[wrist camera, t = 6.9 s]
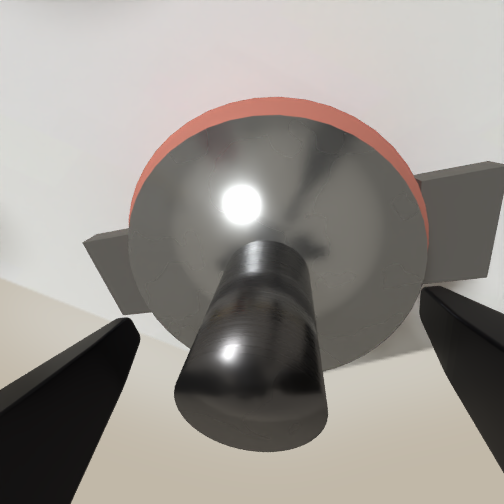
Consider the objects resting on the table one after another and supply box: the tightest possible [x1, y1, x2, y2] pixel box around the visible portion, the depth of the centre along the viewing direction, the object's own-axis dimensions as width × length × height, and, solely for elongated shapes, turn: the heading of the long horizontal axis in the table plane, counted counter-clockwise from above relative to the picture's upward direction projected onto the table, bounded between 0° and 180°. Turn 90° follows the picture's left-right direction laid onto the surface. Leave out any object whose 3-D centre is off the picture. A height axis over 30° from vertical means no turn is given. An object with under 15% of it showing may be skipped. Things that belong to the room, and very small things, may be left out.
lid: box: [128, 115, 427, 452], centre depth 8 cm, size 11×11×6 cm
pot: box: [83, 97, 504, 315], centre depth 13 cm, size 17×12×5 cm
